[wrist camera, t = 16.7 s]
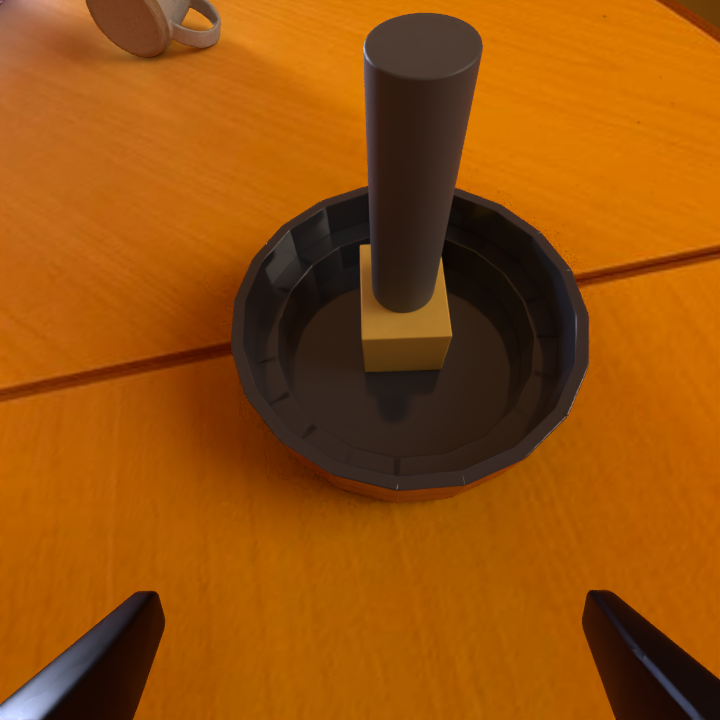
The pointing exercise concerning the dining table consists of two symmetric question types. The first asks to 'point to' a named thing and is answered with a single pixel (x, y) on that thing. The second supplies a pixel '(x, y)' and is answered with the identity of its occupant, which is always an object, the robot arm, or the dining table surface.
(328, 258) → the bowl
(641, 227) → the dining table surface
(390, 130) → the peg on base
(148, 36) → the ceramic mug
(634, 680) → the robot arm
